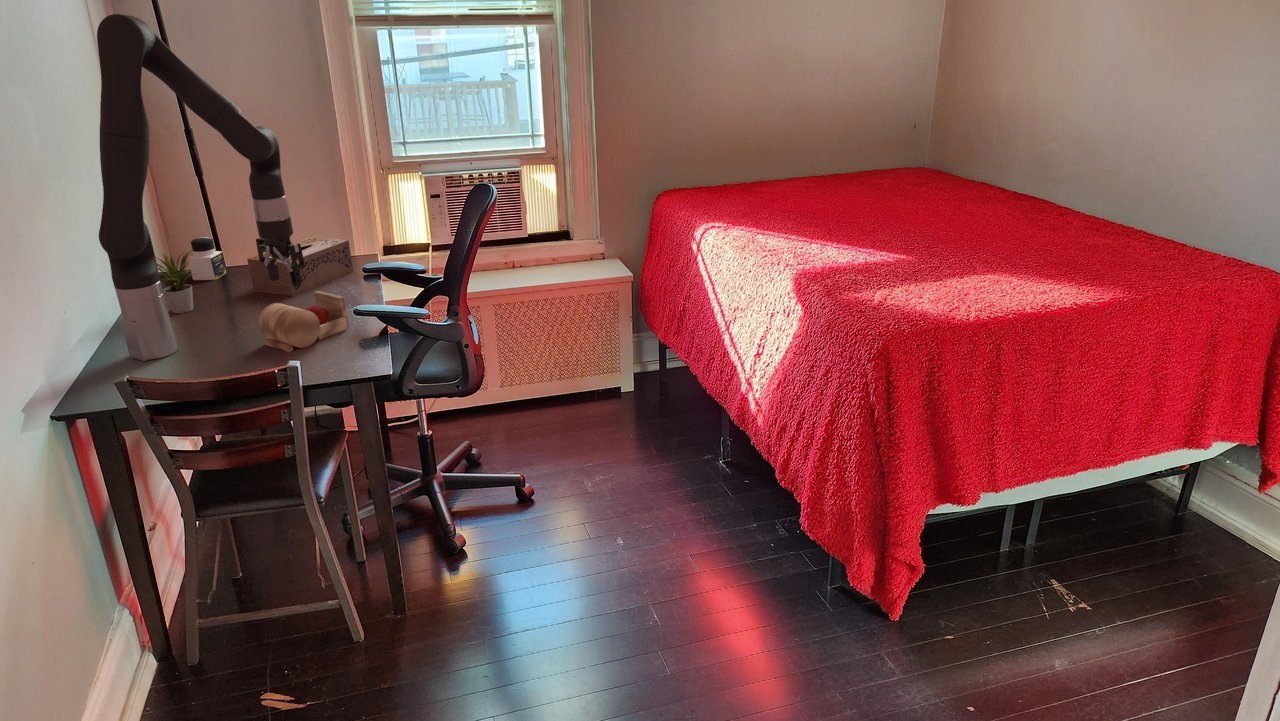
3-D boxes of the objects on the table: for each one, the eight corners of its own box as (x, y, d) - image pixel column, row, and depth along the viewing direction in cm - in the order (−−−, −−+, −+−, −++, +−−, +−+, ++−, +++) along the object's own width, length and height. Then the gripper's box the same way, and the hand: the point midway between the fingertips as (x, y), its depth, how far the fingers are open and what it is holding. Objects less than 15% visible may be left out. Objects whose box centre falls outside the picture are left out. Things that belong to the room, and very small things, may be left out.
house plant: (180, 298, 237) (166, 242, 230) (223, 301, 234) (210, 244, 228) (143, 316, 224) (127, 256, 217) (188, 318, 221) (173, 258, 215)
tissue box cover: (293, 297, 237) (286, 263, 233) (254, 292, 242) (247, 258, 238) (353, 271, 259) (348, 240, 255) (316, 267, 264) (311, 236, 260)
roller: (323, 340, 204) (316, 305, 200) (291, 352, 197) (283, 316, 193) (294, 332, 209) (288, 298, 206) (262, 344, 203) (255, 309, 199)
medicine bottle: (216, 280, 253) (207, 241, 248) (192, 280, 253) (183, 241, 248) (227, 273, 259) (218, 235, 255) (204, 273, 260) (195, 235, 255)
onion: (311, 318, 204) (337, 308, 210) (295, 306, 205) (322, 297, 212) (309, 337, 207) (335, 327, 213) (293, 325, 209) (320, 315, 215)
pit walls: (319, 339, 204) (313, 308, 201) (288, 330, 211) (282, 300, 208) (352, 327, 212) (346, 297, 209) (320, 319, 218) (315, 289, 215)
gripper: (239, 216, 195) (253, 282, 201) (277, 223, 188) (290, 291, 194) (268, 209, 201) (281, 274, 207) (305, 216, 194) (318, 283, 200)
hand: (285, 283), depth 201 cm, fingers open, 8 cm apart
